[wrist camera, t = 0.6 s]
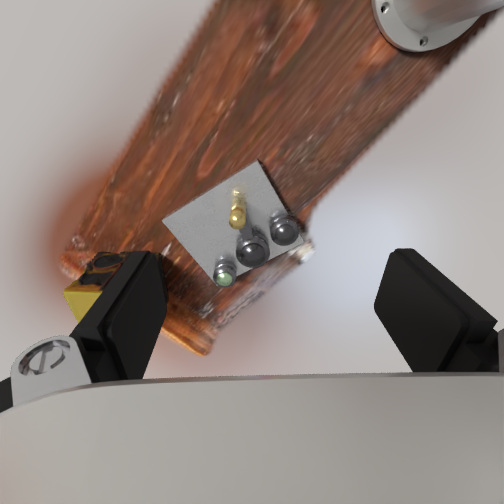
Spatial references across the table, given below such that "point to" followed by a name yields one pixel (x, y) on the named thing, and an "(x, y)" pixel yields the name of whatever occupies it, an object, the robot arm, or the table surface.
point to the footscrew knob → (247, 237)
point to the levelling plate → (221, 233)
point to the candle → (99, 281)
